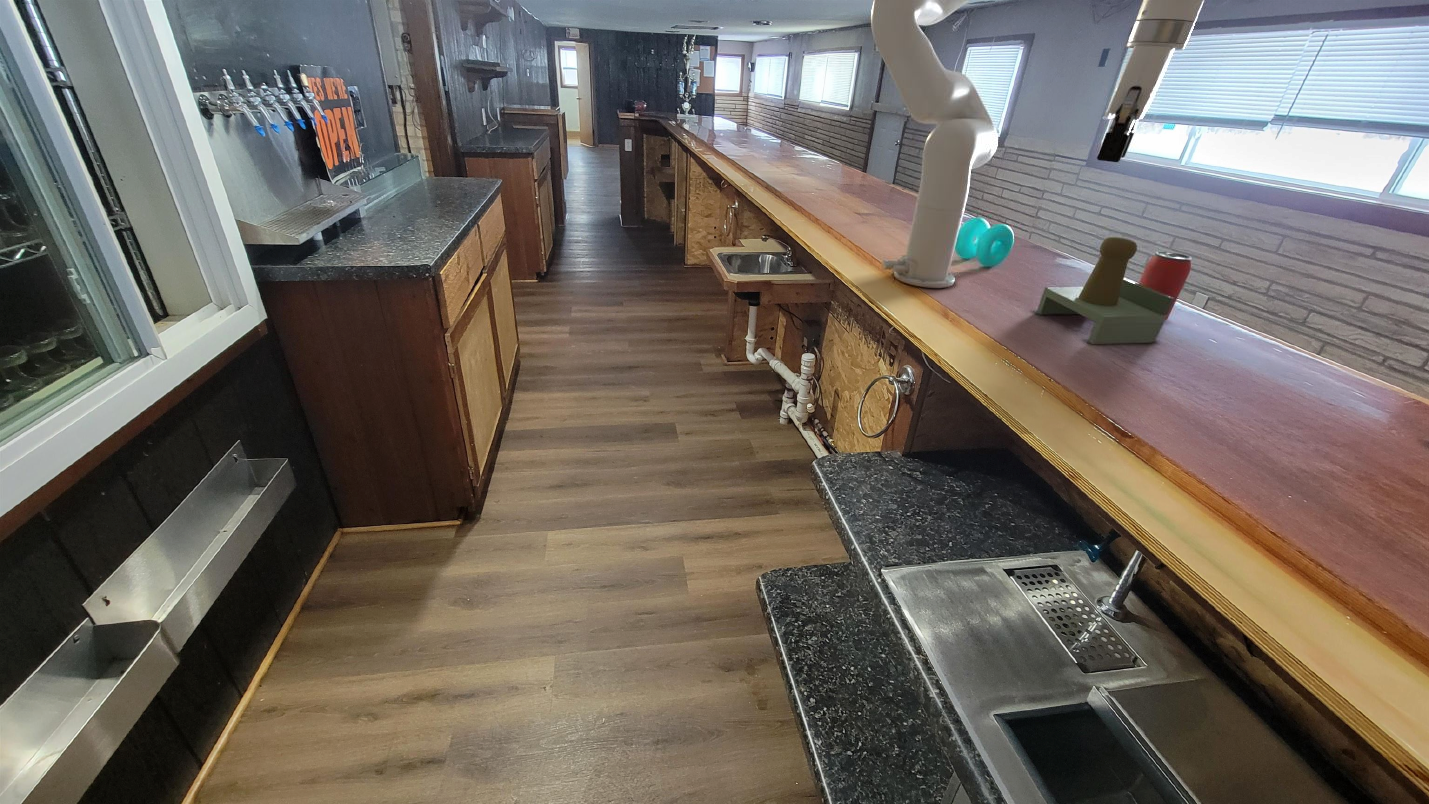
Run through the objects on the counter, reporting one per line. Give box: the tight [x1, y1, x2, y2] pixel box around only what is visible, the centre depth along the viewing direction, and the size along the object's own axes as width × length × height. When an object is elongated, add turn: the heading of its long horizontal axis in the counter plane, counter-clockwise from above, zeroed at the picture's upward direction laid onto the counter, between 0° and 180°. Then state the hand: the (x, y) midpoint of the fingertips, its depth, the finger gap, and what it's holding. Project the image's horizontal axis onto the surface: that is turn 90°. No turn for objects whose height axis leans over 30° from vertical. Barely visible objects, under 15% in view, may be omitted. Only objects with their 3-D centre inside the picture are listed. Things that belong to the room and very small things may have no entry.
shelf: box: [1036, 277, 1175, 345], centre depth 101 cm, size 12×15×8 cm
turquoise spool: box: [954, 216, 1015, 268], centre depth 135 cm, size 10×10×10 cm
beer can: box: [1138, 250, 1193, 322], centre depth 105 cm, size 7×7×12 cm
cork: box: [1079, 236, 1138, 306], centre depth 97 cm, size 6×6×11 cm
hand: (1110, 158), depth 94 cm, fingers open, 9 cm apart
